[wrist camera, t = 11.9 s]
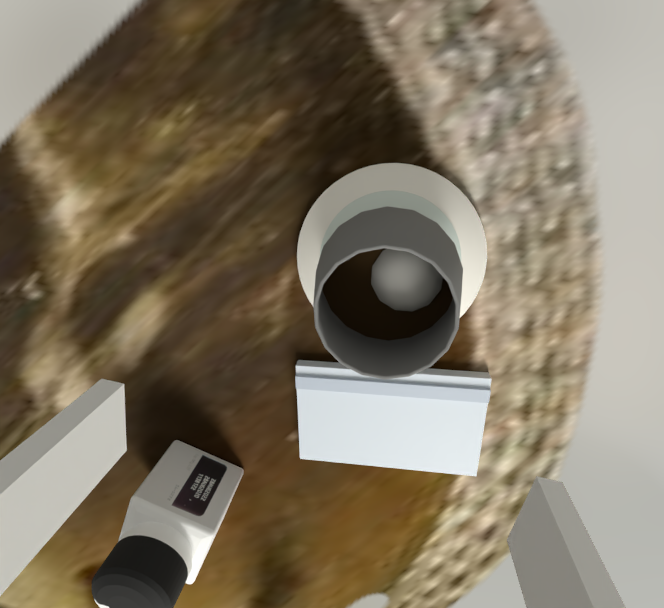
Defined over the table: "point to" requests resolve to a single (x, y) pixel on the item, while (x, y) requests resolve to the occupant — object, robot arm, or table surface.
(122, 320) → the table surface
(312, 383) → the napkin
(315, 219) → the saucer
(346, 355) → the cup
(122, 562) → the container
